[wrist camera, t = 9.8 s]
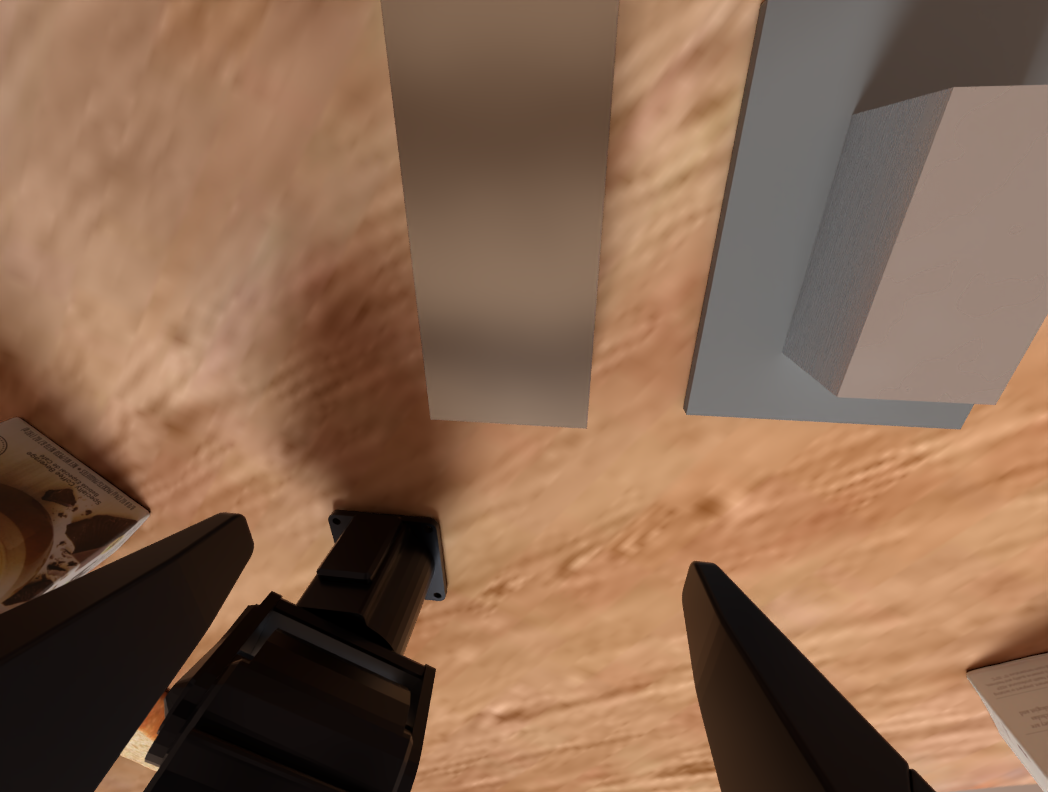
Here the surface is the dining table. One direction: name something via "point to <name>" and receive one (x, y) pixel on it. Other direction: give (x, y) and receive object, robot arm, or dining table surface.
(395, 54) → the plane body
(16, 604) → the coffee box
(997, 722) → the supplement box
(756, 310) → the rubber mat
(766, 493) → the dining table surface
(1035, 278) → the light gray block
